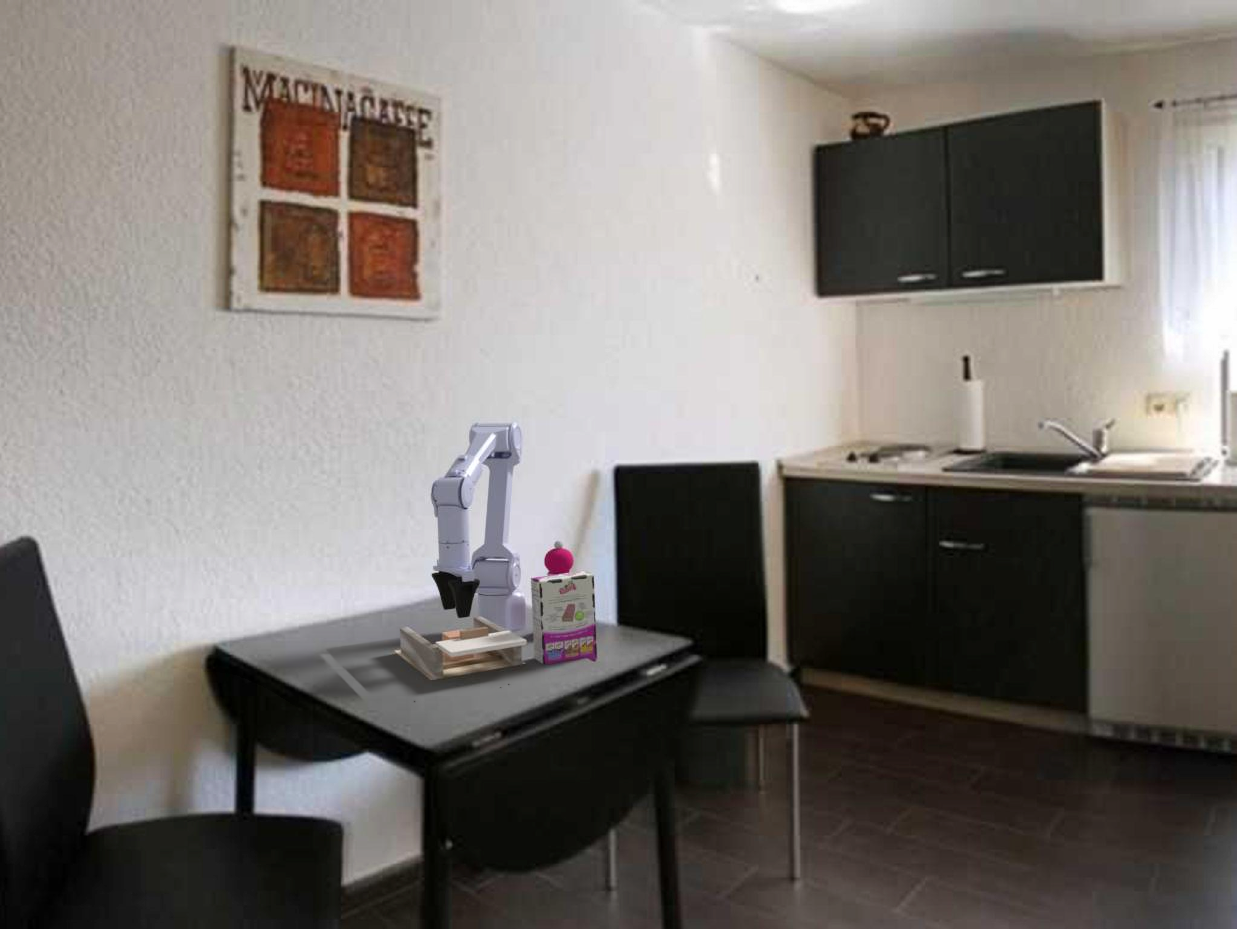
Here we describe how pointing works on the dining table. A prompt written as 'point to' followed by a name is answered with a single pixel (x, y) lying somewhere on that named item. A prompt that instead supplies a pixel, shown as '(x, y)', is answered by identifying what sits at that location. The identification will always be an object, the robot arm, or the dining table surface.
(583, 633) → the candy bar box
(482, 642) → the sliding lid
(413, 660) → the beige wooden low frame
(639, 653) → the dining table surface
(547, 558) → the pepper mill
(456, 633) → the terracotta block
